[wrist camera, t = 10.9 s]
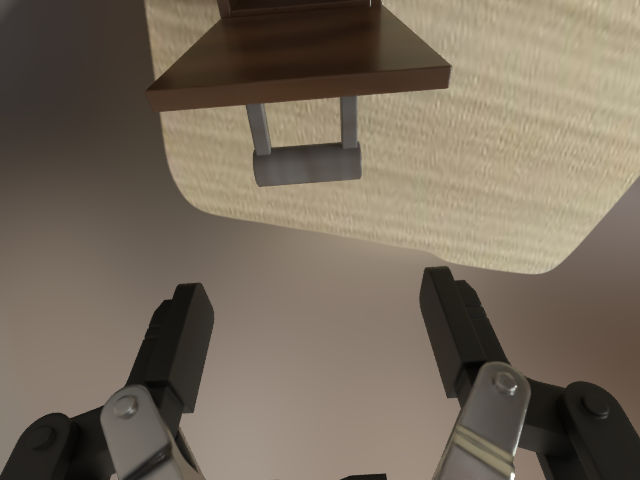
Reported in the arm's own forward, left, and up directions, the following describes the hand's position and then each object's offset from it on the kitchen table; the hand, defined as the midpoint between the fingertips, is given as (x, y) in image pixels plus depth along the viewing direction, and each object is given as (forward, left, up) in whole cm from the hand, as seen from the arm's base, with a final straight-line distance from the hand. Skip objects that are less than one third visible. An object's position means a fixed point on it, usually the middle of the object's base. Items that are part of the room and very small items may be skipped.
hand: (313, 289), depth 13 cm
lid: (-6, 0, -12) cm, 13 cm away
